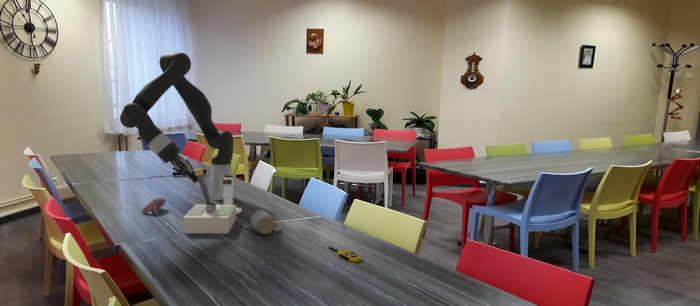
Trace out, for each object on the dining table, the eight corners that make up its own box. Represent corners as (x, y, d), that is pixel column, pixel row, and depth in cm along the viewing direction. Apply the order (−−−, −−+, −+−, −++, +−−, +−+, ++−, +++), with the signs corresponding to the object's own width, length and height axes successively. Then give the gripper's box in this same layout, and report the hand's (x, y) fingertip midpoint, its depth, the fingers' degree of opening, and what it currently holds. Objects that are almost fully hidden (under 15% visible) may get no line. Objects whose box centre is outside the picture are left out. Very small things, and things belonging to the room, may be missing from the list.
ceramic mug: (257, 236, 159) (257, 216, 158) (250, 230, 166) (250, 210, 165) (284, 233, 165) (284, 213, 164) (276, 227, 172) (277, 208, 171)
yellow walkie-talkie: (352, 259, 138) (323, 245, 149) (352, 264, 138) (323, 250, 149) (363, 255, 141) (334, 242, 152) (363, 261, 141) (333, 247, 152)
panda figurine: (216, 207, 196) (216, 174, 194) (242, 207, 198) (242, 174, 196) (213, 215, 184) (213, 180, 182) (241, 214, 186) (241, 180, 184)
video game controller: (149, 218, 182) (155, 204, 181) (140, 212, 182) (146, 198, 181) (163, 211, 192) (169, 198, 190) (154, 206, 192) (161, 193, 191)
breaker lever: (208, 212, 167) (194, 170, 164) (210, 209, 171) (196, 169, 168) (213, 210, 167) (199, 169, 164) (215, 208, 171) (201, 167, 168)
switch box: (183, 233, 160) (183, 209, 159) (196, 218, 178) (195, 197, 177) (228, 233, 162) (228, 209, 160) (235, 219, 179) (235, 197, 178)
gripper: (165, 143, 157) (200, 178, 160) (177, 139, 170) (208, 171, 173) (150, 157, 158) (185, 191, 160) (163, 152, 171) (195, 184, 173)
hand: (197, 181), depth 167 cm, fingers closed
